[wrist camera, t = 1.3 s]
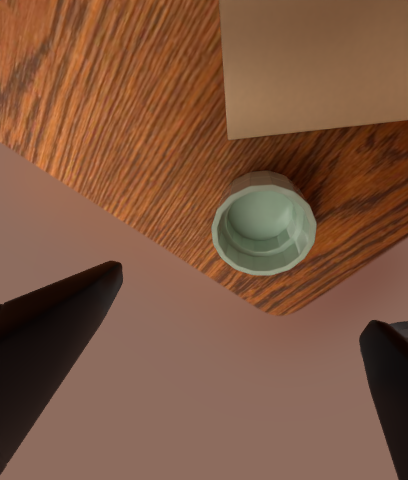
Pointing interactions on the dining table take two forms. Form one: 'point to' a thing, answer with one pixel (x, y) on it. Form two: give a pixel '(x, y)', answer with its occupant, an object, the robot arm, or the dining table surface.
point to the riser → (313, 64)
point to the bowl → (263, 224)
